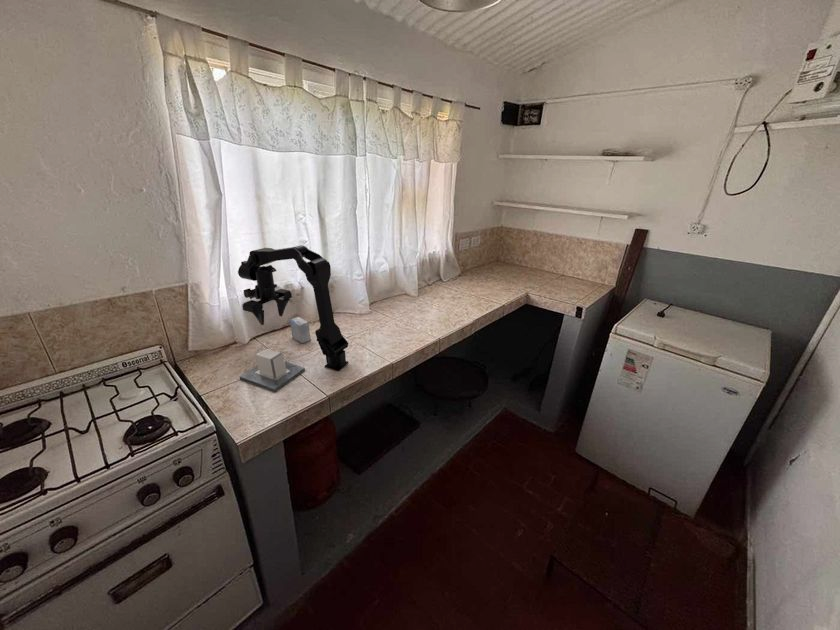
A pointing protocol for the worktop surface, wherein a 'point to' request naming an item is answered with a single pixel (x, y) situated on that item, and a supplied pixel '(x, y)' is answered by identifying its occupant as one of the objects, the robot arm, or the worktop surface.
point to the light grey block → (271, 362)
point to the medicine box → (300, 330)
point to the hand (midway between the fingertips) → (271, 320)
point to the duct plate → (270, 381)
